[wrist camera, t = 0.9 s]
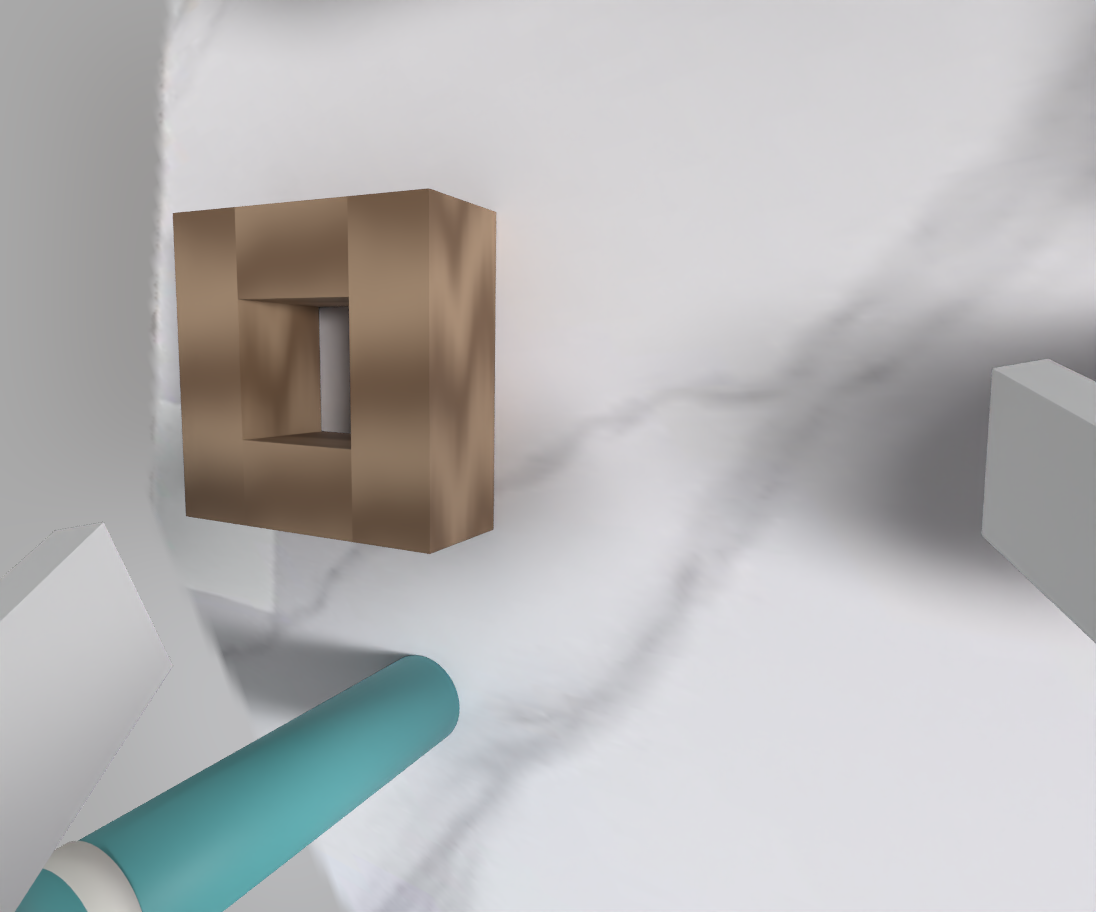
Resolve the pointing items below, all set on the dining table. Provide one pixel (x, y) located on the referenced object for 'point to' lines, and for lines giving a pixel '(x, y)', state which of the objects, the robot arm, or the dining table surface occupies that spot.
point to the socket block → (375, 367)
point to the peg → (254, 802)
